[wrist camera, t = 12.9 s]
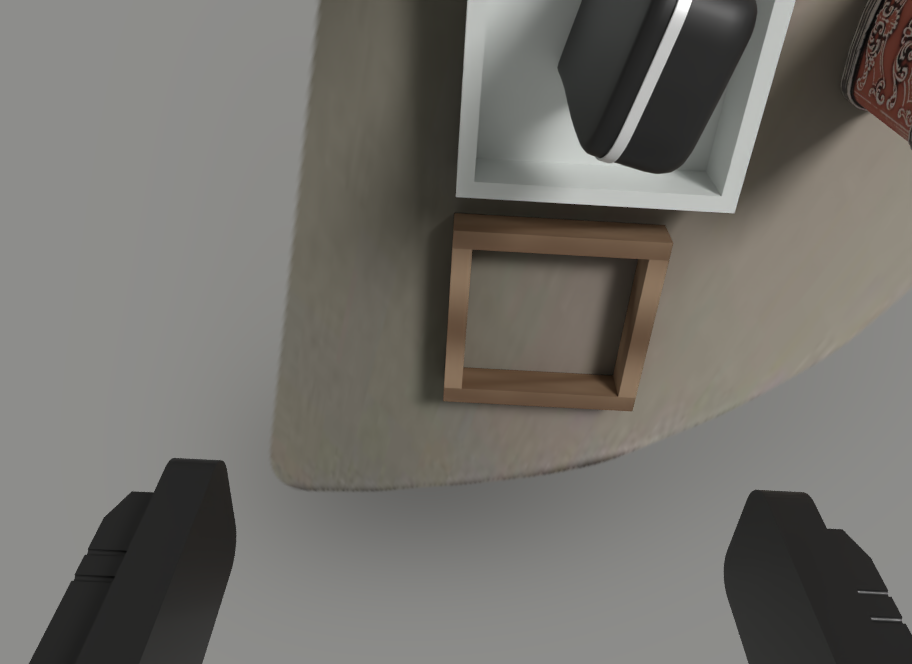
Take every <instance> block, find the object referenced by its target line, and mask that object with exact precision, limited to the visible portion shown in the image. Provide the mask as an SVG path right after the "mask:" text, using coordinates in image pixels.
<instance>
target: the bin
mask: <svg viewBox="0 0 912 664" xmlns="http://www.w3.org/2000/svg"><path fill="white" fill-rule="evenodd" d="M581 1H582V0H467V9H466V25H465V42H464V59H463V76H462V92H461V109H460V126H459V142H458V159H457V180H456V197H463V198H481V199H498V200H515V201H532V202H549V203H566V204H583V205H601V206H618V207H635V208H652V209H669V210H686V211H703V212H721V213H735V209H736V206H737V203H738V199H739V196H740V192H741V189H742V185H743V182H744V178H745V175H746V171H747V168H748V164H749V161H750V157H751V154H752V150H753V147H754V143H755V140H756V136H757V133H758V129H759V126H760V122H761V119H762V115H763V112H764V108H765V105H766V101H767V98H768V94H769V91H770V88H771V84H772V81H773V77H774V74H775V70H776V67H777V63H778V60H779V56H780V53H781V49H782V46H783V42H784V39H785V35H786V32H787V28H788V25H789V21H790V18H791V14H792V11H793V7H794V4H795V0H756V3H757V11H758V13H757V18H756V23H755V27H754V30H753V33H752V36H751V38H750V40H749V42H748V44H747V46H746V48H745V50H744V52H743V54H742V56H741V58H740V60H739V62H738V64H737V66H736V68H735V70H734V72H733V74H732V76H731V78H730V80H729V82H728V84H727V86H726V88H725V90H724V92H723V94H722V96H721V98H720V100H719V102H718V104H717V106H716V108H715V110H714V112H713V114H712V116H711V118H710V119H709V121H708V123H707V125H706V127H705V129H704V131H703V133H702V135H701V137H700V139H699V141H698V143H697V144H696V146H695V148H694V150H693V152H692V153H691V154H690V156H689V157H688V159H687V160H686V161H685V163H684V164H683V165H682V166H681V167H679V168H678V169H676V170H674V171H673V172H671V173H664V174H653V173H648V172H643V171H640V170H637V169H633V168H630V167H627V166H624V165H621V164H617V163H614V162H613V163H611V164H609V163H605V162H602V161H599V160H597V159H596V158H595V156H592V155H589V154H587V153H586V152H585V151H584V150H583V148H582V147H581V146H580V143H579V141H578V138H577V135H576V132H575V130H574V127H573V123H572V120H571V116H570V112H569V108H568V103H567V99H566V94H565V90H564V86H563V83H562V80H561V77H560V75H559V72H558V69H557V67H558V63H559V60H560V57H561V55H562V52H563V49H564V47H565V44H566V41H567V39H568V36H569V33H570V31H571V28H572V25H573V23H574V20H575V17H576V15H577V12H578V9H579V7H580V4H581Z"/></svg>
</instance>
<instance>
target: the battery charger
mask: <svg viewBox="0 0 912 664" xmlns="http://www.w3.org/2000/svg"><path fill="white" fill-rule="evenodd" d="M757 13H758V11H757V3H756V0H582V1H581V4H580V7H579V9H578V12H577V15H576V17H575V20H574V23H573V25H572V28H571V31H570V33H569V36H568V39H567V41H566V44H565V47H564V49H563V52H562V55H561V57H560V60H559V63H558V67H557V69H558V72H559V75H560V77H561V80H562V83H563V86H564V90H565V94H566V99H567V103H568V108H569V112H570V116H571V120H572V123H573V127H574V130H575V132H576V135H577V138H578V141H579V143H580V146H581V147H582V148H583V150H584V151H585V152H586V153H587V154H589V155H592V156H595V158H596V159H597V160H599V161H602V162H605V163H609V164H611V163H613V162H614V163H617V164H621V165H624V166H627V167H630V168H633V169H637V170H640V171H643V172H648V173H653V174H664V173H671V172H673V171H674V170H676V169H678V168H679V167H681V166H682V165H683V164H684V163H685V161H686V160H687V159H688V157H689V156H690V154H691V153H692V152H693V150H694V148H695V146H696V144H697V143H698V141H699V139H700V137H701V135H702V133H703V131H704V129H705V127H706V125H707V123H708V121H709V119H710V118H711V116H712V114H713V112H714V110H715V108H716V106H717V104H718V102H719V100H720V98H721V96H722V94H723V92H724V90H725V88H726V86H727V84H728V82H729V80H730V78H731V76H732V74H733V72H734V70H735V68H736V66H737V64H738V62H739V60H740V58H741V56H742V54H743V52H744V50H745V48H746V46H747V44H748V42H749V40H750V38H751V36H752V33H753V30H754V27H755V23H756V18H757Z"/></svg>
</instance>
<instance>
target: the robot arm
mask: <svg viewBox="0 0 912 664" xmlns="http://www.w3.org/2000/svg"><path fill="white" fill-rule="evenodd" d="M235 547H236V525H235V518H234V512H233V506H232V499H231V493H230V487H229V480H228V474H227V468H226V465H225V463H224V461H221V460H202V459H182V458H173V459H171V460H170V461H169V462H168V464H167V465H166V467H165V470H164V472H163V474H162V476H161V478H160V480H159V483H158V485H157V487H156V489H155V491H154V493H152V492H131V493H130V494H129V495H128V496H127V497H126V498H124V499H123V500H122V501H121V502H120V503H119V504H118V505H117V506H116V507H115V508H114V509H113V510H112V511H111V512H110V513H108V514H107V515H106V516H105V517H104V519H103V521H102V523H101V524H100V527H99V528H98V530H97V532H96V534H95V536H94V538H93V540H92V542H91V544H90V546H89V548H88V554H87V555H85V556H84V558H83V559H82V562H81V563H80V565H79V567H78V569H77V571H76V573H75V579H74V581H71V583H70V585H69V587H68V589H67V591H66V593H65V595H64V596H63V598H62V601H61V602H60V605H59V606H58V608H57V610H56V612H55V614H54V616H53V618H52V620H51V622H50V624H49V626H48V628H47V630H46V631H45V633H44V636H43V637H42V639H41V641H40V643H39V645H38V647H37V649H36V651H35V653H34V655H33V657H32V659H31V661H30V663H29V664H202V662H203V659H204V656H205V653H206V650H207V646H208V643H209V640H210V637H211V634H212V630H213V627H214V624H215V621H216V617H217V614H218V611H219V608H220V605H221V602H222V598H223V595H224V592H225V589H226V585H227V582H228V579H229V576H230V573H231V569H232V566H233V561H234V556H235ZM724 583H725V589H726V594H727V597H728V600H729V604H730V607H731V610H732V613H733V616H734V619H735V622H736V625H737V629H738V632H739V635H740V638H741V641H742V644H743V647H744V650H745V653H746V656H747V659H748V663H749V664H912V635H911V633H910V631H909V629H908V627H907V625H906V624H903V623H902V616H901V614H900V612H899V610H898V608H897V606H896V605H895V603H894V601H893V599H892V597H888V590H887V588H886V586H885V584H884V582H883V580H882V578H881V576H880V575H879V572H878V571H877V569H876V567H875V565H874V563H873V561H872V559H871V558H870V557H869V556H868V555H867V554H866V553H865V552H864V551H863V550H862V549H861V548H860V547H859V546H858V545H857V544H856V543H855V542H854V541H853V540H852V539H851V538H850V537H849V536H848V535H847V534H846V533H845V532H844V531H843V530H841V529H827V528H826V526H825V524H824V522H823V520H822V518H821V516H820V514H819V512H818V509H817V507H816V505H815V504H814V502H813V500H812V499H811V497H810V496H809V495H808V494H806V493H804V492H786V491H767V490H766V491H765V490H754V491H752V492H751V493H750V495H749V497H748V499H747V501H746V504H745V506H744V509H743V512H742V514H741V517H740V519H739V522H738V524H737V527H736V530H735V532H734V535H733V537H732V540H731V543H730V545H729V548H728V550H727V553H726V557H725V563H724Z"/></svg>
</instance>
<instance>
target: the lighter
mask: <svg viewBox="0 0 912 664" xmlns="http://www.w3.org/2000/svg"><path fill="white" fill-rule="evenodd" d="M841 91H842V93H843V96H844V97H845V98H846V99H847V100H848V101H849V102H850V103H852V104H853V105H854V106H855V107H857V108H859V109H862V110H864V111H869V112H870V113H872V114H873V115H874V116H876V117H877V118H878V119H879V120H881V121H882V122H883V123H885V124H886V125H887V126H888V127H890V128H891V129H892V130H894V131H895V132H896V133H898V134H899V135H900V136H901V137H903V138H904V139H905V140H907V141H908V142H909V145H910V148H911V150H912V0H869V1H868V2H867V4H866V6H865V8H864V11H863V13H862V16H861V19H860V21H859V24H858V27H857V29H856V32H855V35H854V37H853V40H852V43H851V45H850V48H849V52H848V56H847V60H846V64H845V68H844V72H843V76H842V79H841Z"/></svg>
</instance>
